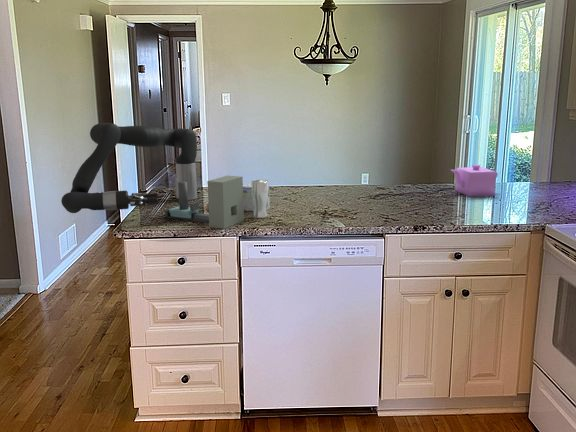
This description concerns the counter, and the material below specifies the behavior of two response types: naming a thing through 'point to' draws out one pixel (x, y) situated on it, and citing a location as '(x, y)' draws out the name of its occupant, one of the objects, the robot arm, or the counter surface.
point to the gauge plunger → (207, 208)
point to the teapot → (475, 181)
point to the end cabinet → (225, 201)
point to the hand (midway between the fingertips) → (157, 198)
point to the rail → (195, 217)
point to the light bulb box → (248, 198)
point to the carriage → (184, 203)
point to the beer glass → (259, 198)
